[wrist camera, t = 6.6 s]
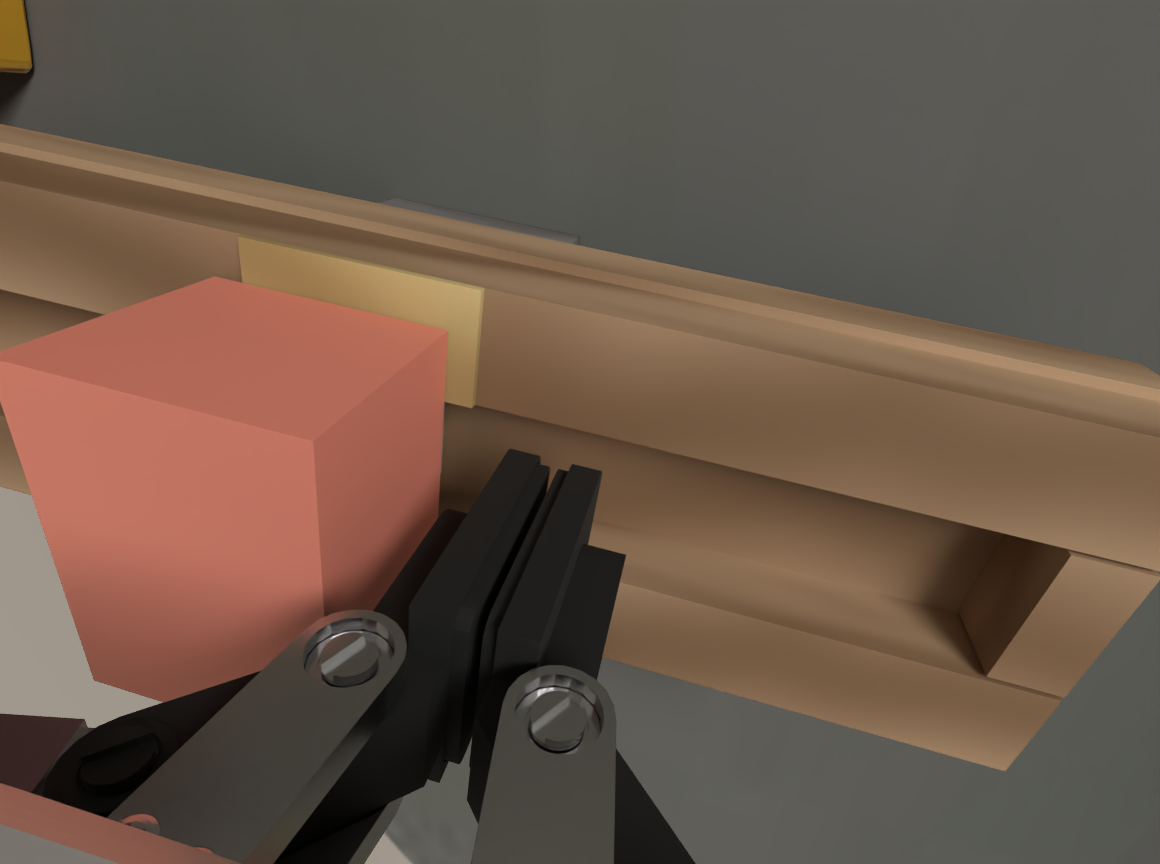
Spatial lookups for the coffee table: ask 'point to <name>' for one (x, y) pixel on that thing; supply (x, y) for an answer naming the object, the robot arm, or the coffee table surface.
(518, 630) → the robot arm
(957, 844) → the coffee table surface
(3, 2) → the supplement box
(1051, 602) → the beam
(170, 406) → the block
